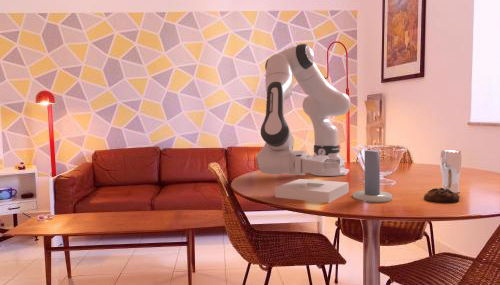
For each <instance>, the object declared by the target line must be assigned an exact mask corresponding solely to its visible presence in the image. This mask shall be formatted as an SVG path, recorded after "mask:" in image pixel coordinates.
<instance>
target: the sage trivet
mask: <svg viewBox="0 0 500 285" xmlns="http://www.w3.org/2000/svg"><path fill="white" fill-rule="evenodd" d="M352 198H354V199H356V200H359V201H360V200H361V201H363V202H364V201H365V203H375V204H376V203H377V204H378V203H379V204H380V203H388V202H391V201H393V194H392V193H390V192H387V191H382V190H380V195H375V196H371V195H365V190H358V191H357V190H356V191H353V193H352Z"/></svg>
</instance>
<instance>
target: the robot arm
mask: <svg viewBox="0 0 500 285" xmlns="http://www.w3.org/2000/svg"><path fill="white" fill-rule="evenodd" d="M315 58H316V57H315V53H314V51H313V49H312V47H311V46H310V45H308V44H307V43H300V44H297V45H295V46H292V47H289V48H287V49H284V50H282V51H280V52H278V53H276V54H272V55H271V56H270V57H269V58H267V60H266V62H265V64H264V68H265V91H266V104H265V105H266V106H265V108H266V109H265V115H264V116H265V117H264V119H263V122H262V124H261V127H260V137H261V138H262V140H263V141H264V142H265V143H264V145H263V147H262V148H261V149H260V151H258V152H257V154H256V157H255V158H256V165H257V168H258V170H259V171H260V172H262V173H263V174H267V175H284V174H286V175H287V174H288V175H290V176H306V174H311V175H313V176H319V177H334V176H335V177H336V176H346V175H347V174H348V173H349V172H350V169H349V168H345V159H344V158H343V156H342V155H341V153H340V152H341V151H340V149H341V144H339V129H338V127H337V126H336V125H335V124H333V123H332V121H331V119H330V117H339V116H343V115H346V114H348V113H349V111H350V109H351V106H352V101H351V98H350V96H349V95H348V94H347V93H344V92H342V91H340V90H338V88H335V87H334V86H333V85H332V84H331V83H329V82H328V80H327V79H326V78H325V77H324V75H323V74H322V72H321V71H320V68H319V67H318V66H317V64H316V63H315ZM294 78H295V79H296V82H297V83H298V85H299V86H300V88H301V89H302V92H304V94H305V95H307V96H305V97H304V99H303V101H302V109H303V112H304V113H305V114H306V115H307V116H308V117H309V119H310V121H311V124H312V126H313V131H314V133H313V134H314V145H313V155H311V154H310V153H308V154H307V153H306V152H307V151H305V150H293V149H294V144H295V143H294V142H295V141H294V140H295V138H294V136H293V134H292V132H291V130H290V128H289V124H288V122H287V120H286V119H285V116H284V114H285V113H284V109H285V108H284V106H285V103H284V101H285V100H287V99H289V98H290V97H291V96H292V95H293V90H294Z"/></svg>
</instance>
